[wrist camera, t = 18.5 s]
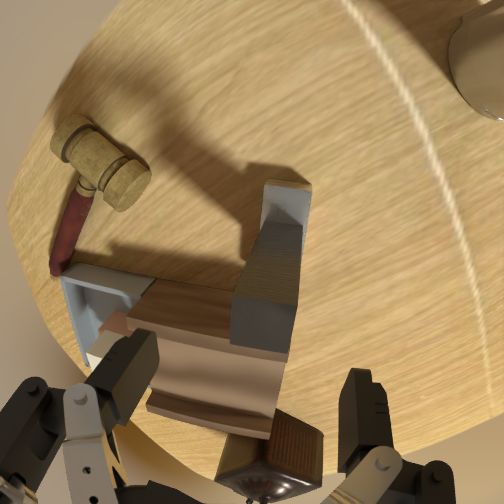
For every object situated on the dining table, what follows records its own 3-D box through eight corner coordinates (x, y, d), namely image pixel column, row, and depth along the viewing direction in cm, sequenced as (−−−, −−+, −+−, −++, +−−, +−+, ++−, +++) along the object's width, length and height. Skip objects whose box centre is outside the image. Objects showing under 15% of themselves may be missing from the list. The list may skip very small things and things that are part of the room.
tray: (77, 261, 32) (59, 275, 29) (155, 277, 31) (140, 295, 28) (98, 350, 38) (85, 365, 35) (166, 371, 37) (156, 389, 34)
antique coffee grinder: (223, 431, 41) (191, 533, 25) (269, 403, 36) (243, 530, 20) (299, 466, 43) (287, 557, 27) (349, 443, 38) (347, 549, 22)
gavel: (70, 315, 32) (18, 263, 31) (90, 295, 36) (40, 247, 35) (133, 180, 23) (58, 115, 21) (159, 167, 27) (90, 110, 25)
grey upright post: (268, 178, 25) (228, 237, 13) (311, 184, 25) (314, 250, 13) (258, 271, 29) (222, 378, 17) (297, 277, 28) (284, 389, 16)
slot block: (158, 278, 31) (125, 316, 25) (294, 301, 29) (289, 349, 23) (168, 371, 37) (147, 411, 31) (276, 393, 35) (268, 439, 29)
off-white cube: (105, 329, 30) (85, 352, 26) (136, 338, 29) (118, 364, 26) (112, 356, 31) (95, 379, 28) (142, 365, 31) (126, 391, 27)
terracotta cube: (144, 317, 33) (115, 310, 34) (128, 338, 29) (97, 329, 30) (148, 343, 35) (120, 335, 35) (134, 365, 31) (105, 356, 32)
